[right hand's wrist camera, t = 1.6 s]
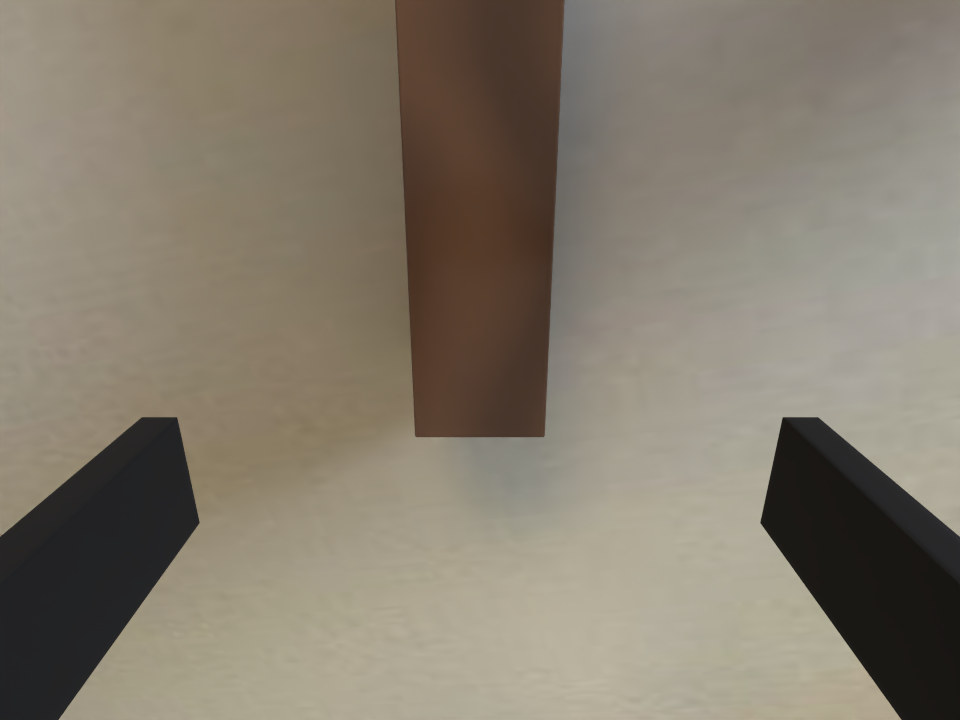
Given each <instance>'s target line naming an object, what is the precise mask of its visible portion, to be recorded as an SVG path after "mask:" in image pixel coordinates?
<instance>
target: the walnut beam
mask: <svg viewBox="0 0 960 720" xmlns="http://www.w3.org/2000/svg"><path fill="white" fill-rule="evenodd" d="M395 8H396V30H397V51H398V73H399V95H400V116H401V138H402V160H403V181H404V203H405V225H406V246H407V268H408V290H409V311H410V333H411V355H412V376H413V398H414V420H415V436H416V437H544V436H545V415H546V394H547V372H548V350H549V328H550V306H551V284H552V262H553V240H554V219H555V197H556V175H557V153H558V131H559V109H560V87H561V66H562V44H563V22H564V0H395Z"/></svg>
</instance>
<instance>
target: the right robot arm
mask: <svg viewBox="0 0 960 720" xmlns="http://www.w3.org/2000/svg"><path fill="white" fill-rule="evenodd" d="M198 524H199V518H198V513H197V508H196V504H195V499H194V494H193V490H192V485H191V480H190V475H189V471H188V466H187V461H186V457H185V452H184V447H183V442H182V438H181V433H180V428H179V424H178V419H177V417H142V418H141V419H139V420H138V421H137V422H136V423H135V424H133V425H132V426H131V427H130V428H129V429H128V430H126V431H125V432H124V433H123V434H122V435H120V436H119V437H118V438H117V439H116V440H115V441H113V442H112V443H111V444H110V445H109V446H107V447H106V448H105V449H104V450H103V451H102V452H100V453H99V454H98V455H97V456H96V457H94V458H93V459H92V460H91V461H90V462H88V463H87V464H86V465H85V466H84V467H83V468H81V469H80V470H79V471H78V472H77V473H75V474H74V475H73V476H72V477H71V478H70V479H68V480H67V481H66V482H65V483H64V484H62V485H61V486H60V487H59V488H58V489H56V490H55V491H54V492H53V493H52V494H51V495H49V496H48V497H47V498H46V499H45V500H43V501H42V502H41V503H40V504H39V505H38V506H36V507H35V508H34V509H33V510H32V511H30V512H29V513H28V514H27V515H26V516H24V517H23V518H22V519H21V520H20V521H19V522H17V523H16V524H15V525H14V526H13V527H11V528H10V529H9V530H8V531H7V532H6V533H4V534H3V535H2V536H1V537H0V720H59V718H60V717H61V715H62V714H63V713H64V711H65V710H66V708H67V707H68V706H69V704H70V703H71V701H72V700H73V699H74V697H75V696H76V694H77V693H78V692H79V690H80V689H81V687H82V686H83V685H84V683H85V682H86V680H87V679H88V678H89V676H90V675H91V674H92V672H93V671H94V669H95V668H96V667H97V665H98V664H99V662H100V661H101V660H102V658H103V657H104V655H105V654H106V653H107V651H108V650H109V648H110V647H111V646H112V644H113V643H114V641H115V640H116V639H117V637H118V636H119V634H120V633H121V632H122V630H123V629H124V628H125V626H126V625H127V623H128V622H129V621H130V619H131V618H132V616H133V615H134V614H135V612H136V611H137V609H138V608H139V607H140V605H141V604H142V602H143V601H144V600H145V598H146V597H147V595H148V594H149V593H150V591H151V590H152V588H153V587H154V586H155V584H156V583H157V582H158V580H159V579H160V577H161V576H162V575H163V573H164V572H165V570H166V569H167V568H168V566H169V565H170V563H171V562H172V561H173V559H174V558H175V556H176V555H177V554H178V552H179V551H180V549H181V548H182V547H183V545H184V544H185V543H186V541H187V540H188V538H189V537H190V536H191V534H192V533H193V531H194V530H195V529H196V527H197V526H198ZM761 524H762V526H763V527H764V529H765V530H766V531H767V533H768V534H769V536H770V537H771V538H772V540H773V541H774V543H775V544H776V545H777V547H778V548H779V549H780V551H781V552H782V554H783V555H784V556H785V558H786V559H787V561H788V562H789V563H790V565H791V566H792V568H793V569H794V570H795V572H796V573H797V575H798V576H799V577H800V579H801V580H802V582H803V583H804V584H805V586H806V587H807V588H808V590H809V591H810V593H811V594H812V595H813V597H814V598H815V600H816V601H817V602H818V604H819V605H820V607H821V608H822V609H823V611H824V612H825V614H826V615H827V616H828V618H829V619H830V621H831V622H832V623H833V625H834V626H835V628H836V629H837V630H838V632H839V633H840V634H841V636H842V637H843V639H844V640H845V641H846V643H847V644H848V646H849V647H850V648H851V650H852V651H853V653H854V654H855V655H856V657H857V658H858V660H859V661H860V662H861V664H862V665H863V667H864V668H865V669H866V671H867V672H868V674H869V675H870V676H871V678H872V679H873V680H874V682H875V683H876V685H877V686H878V687H879V689H880V690H881V692H882V693H883V694H884V696H885V697H886V699H887V700H888V701H889V703H890V704H891V706H892V707H893V708H894V710H895V711H896V713H897V714H898V715H899V717H900V718H901V720H960V537H959V536H958V535H957V534H956V533H954V532H953V531H952V530H951V529H950V528H949V527H947V526H946V525H945V524H944V523H943V522H941V521H940V520H939V519H938V518H937V517H936V516H934V515H933V514H932V513H931V512H930V511H928V510H927V509H926V508H925V507H924V506H922V505H921V504H920V503H919V502H918V501H917V500H915V499H914V498H913V497H912V496H911V495H909V494H908V493H907V492H906V491H905V490H904V489H902V488H901V487H900V486H899V485H898V484H896V483H895V482H894V481H893V480H892V479H890V478H889V477H888V476H887V475H886V474H885V473H883V472H882V471H881V470H880V469H879V468H877V467H876V466H875V465H874V464H873V463H872V462H870V461H869V460H868V459H867V458H866V457H864V456H863V455H862V454H861V453H860V452H858V451H857V450H856V449H855V448H854V447H853V446H851V445H850V444H849V443H848V442H847V441H845V440H844V439H843V438H842V437H841V436H840V435H838V434H837V433H836V432H835V431H834V430H832V429H831V428H830V427H829V426H828V425H827V424H825V423H824V422H823V421H822V420H821V419H819V418H818V417H783V419H782V424H781V428H780V433H779V438H778V442H777V447H776V452H775V457H774V461H773V466H772V471H771V475H770V480H769V485H768V490H767V494H766V499H765V504H764V508H763V513H762V518H761Z"/></svg>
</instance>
